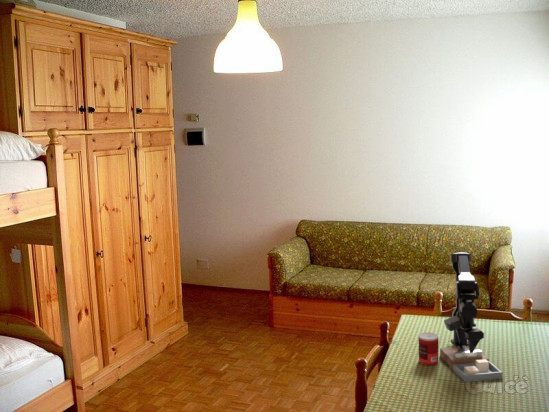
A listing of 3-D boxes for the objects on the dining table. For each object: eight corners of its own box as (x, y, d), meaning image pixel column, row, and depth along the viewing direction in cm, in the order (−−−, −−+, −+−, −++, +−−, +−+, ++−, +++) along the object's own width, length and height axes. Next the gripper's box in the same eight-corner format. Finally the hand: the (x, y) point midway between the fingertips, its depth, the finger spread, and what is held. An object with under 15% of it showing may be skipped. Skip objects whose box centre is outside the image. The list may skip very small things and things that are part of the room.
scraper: (455, 359, 229) (448, 352, 235) (482, 357, 230) (474, 350, 237) (455, 353, 228) (448, 347, 235) (482, 351, 229) (474, 344, 236)
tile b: (475, 360, 225) (478, 362, 223) (485, 359, 225) (488, 361, 223) (475, 369, 226) (478, 372, 223) (485, 369, 226) (488, 371, 224)
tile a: (469, 371, 219) (468, 377, 219) (479, 370, 219) (479, 376, 220) (464, 366, 223) (464, 373, 223) (474, 366, 223) (474, 372, 224)
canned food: (439, 359, 238) (439, 333, 236) (436, 367, 231) (436, 340, 229) (420, 356, 241) (420, 331, 240) (416, 364, 234) (416, 338, 232)
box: (452, 370, 227) (453, 364, 226) (489, 367, 228) (489, 361, 228) (463, 382, 217) (464, 375, 217) (502, 378, 219) (502, 372, 218)
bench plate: (440, 356, 241) (440, 348, 240) (472, 353, 242) (472, 345, 242) (454, 370, 227) (454, 362, 226) (488, 367, 228) (488, 359, 228)
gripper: (437, 304, 238) (437, 341, 240) (456, 319, 219) (456, 359, 222) (463, 302, 239) (463, 338, 241) (484, 317, 220) (484, 356, 223)
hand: (466, 348), depth 232 cm, fingers open, 9 cm apart
